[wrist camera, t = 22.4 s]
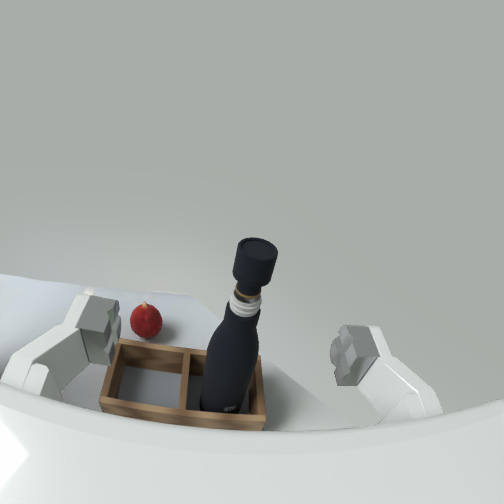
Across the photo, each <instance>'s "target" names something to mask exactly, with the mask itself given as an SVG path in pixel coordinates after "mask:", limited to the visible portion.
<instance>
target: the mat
mask: <svg viewBox="0 0 504 504" xmlns="http://www.w3.org/2000/svg"><path fill="white" fill-rule="evenodd" d="M181 376H182V374H177V373H170V372H163V371H156V370H149V369H143V368H137V367H131V366H125V367H124V371H123V375H122V380H121V384H120V388H119V393H118V397H117V399H120V400H125V401H130V402H136V403H142V404H148V405H154V406H161V407H168V408H176V409H178V405H179V395H180V385H181ZM202 381H203V376H194V375H189V377H188V389H187V401H186V410H193V411H201V410H200V405H199V402H200V395H201V388H202ZM102 412H103V411H102ZM238 414H245V415H250V414H249V395H248V389H247V392H246V394H245V397H244V400H243V403H242V406H241V408H240V411H239V413H238ZM261 431H263V428H262V430H261Z"/></svg>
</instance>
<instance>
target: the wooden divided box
mask: <svg viewBox="0 0 504 504" xmlns="http://www.w3.org/2000/svg"><path fill="white" fill-rule="evenodd" d="M114 347H115V355H114V358H113V362H112V365H111V366H108V369H107V372H106V376H105V380H104V383H103V387H102V391H101V395H100V398H99V403H100V406H101V409H102V411H103V413H108V414H113V415H118V416H123V417H128V418H134V419H139V420H145V421H152V422H158V423H165V424H173V425H181V426H190V427H200V428H211V429H225V430H244V431H261V430H262V428H263V426H264V425H265V423H266V413H265V401H264V390H263V379H262V368H261V356H260V355H258V359H257V363H256V366H255V369H254V372H253V375H252V378H251V380H250V383H249V386H248V395H249V414H250V415H245V414H228V413H214V412H203V411H193V410H186V401H187V389H188V377H189V375H194V376H203V374H204V367H205V360H206V353H207V351H206V350H197V349H189V348H181V347H173V346H166V345H159V344H152V343H146V342H140V341H133V340H127V339H122V338H119V341H118V343H117V344H115V345H114ZM125 366H131V367H137V368H143V369H149V370H156V371H163V372H170V373H177V374H182V376H181V385H180V395H179V405H178V409H176V408H168V407H161V406H154V405H148V404H142V403H136V402H130V401H125V400H120V399H117V397H118V393H119V388H120V384H121V380H122V375H123V371H124V367H125Z"/></svg>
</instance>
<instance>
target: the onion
mask: <svg viewBox="0 0 504 504" xmlns="http://www.w3.org/2000/svg"><path fill="white" fill-rule="evenodd" d="M130 324H131V328H132V330H133V331H134V332H135V333H136V334H137V335H138V336H140V337H143V338H151V337H153V336H156V335H157V334H158V332H159V331H160V330H161V327H162V317H161V315H160V313H159V311H158V310H157V309H156V308H155V307H154V306H152V305H149V304H147V303H146V302H143V304H142V305H140V306H138V307H136V308H135V309H134V310H133V312H132V314H131V317H130Z"/></svg>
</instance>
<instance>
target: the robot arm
mask: <svg viewBox="0 0 504 504" xmlns="http://www.w3.org/2000/svg"><path fill="white" fill-rule="evenodd" d="M119 309H120V308H119V302H118V301H117V300H112V299H107V298H102V297H97V296H91V295H86V294H81V293H79V294H78V295H77V296H76V298H75V300H74V301H73V303H72V305H71V307H70V310H69V312H68V314H67V316H66V318H65V320H64V322H63V324H62V325H61V324H58V325H56V326H55V327H53V328H52V329H50V330H49V331H47V332H46V333H44V334H42V335H41V336H39V337H38V338H36V339H35V340H33V341H32V342H30V343H29V344H27V345H26V346H24V347H23V348H21V349H20V350H18V351H17V352H15V353H14V354H12V356H11V358H10V360H9V362H8V364H7V366H6V368H5V371H4V373H3V375H2V377H1V379H0V504H504V400H502V399H498V400H494V401H491V402H487V403H484V404H481V405H477V406H473V407H469V408H466V409H462V410H457V411H454V412H449V413H445V414H444V413H443V410H442V408H441V405H440V403H439V401H438V398H437V396H436V393H435V391H434V390H433V389H432V388H431V387H430V386H429V385H427V384H426V383H425V382H424V381H423V380H422V379H421V378H419V377H418V376H417V375H416V374H415V373H413V372H412V371H411V370H410V369H409V368H408V367H406V366H405V365H404V364H403V363H402V362H401V361H399V360H398V359H397V358H396V357H392V355H391V353H390V351H389V348H388V346H387V344H386V341H385V339H384V337H383V334H382V332H381V330H380V328H379V327H378V326H359V325H343V326H341V327H340V329H339V331H338V333H339V337H337V338H336V339H334V340H333V342H332V345H331V349H330V359H331V362H332V364H333V365H334V366H335V367H336V369H335V371H334V374H335V378H336V382H337V385H338V386H357V388H358V389H359V390H360V391H361V392H362V394H363V395H364V396H365V397H366V398H367V399H368V401H369V402H370V403H371V404H372V405H373V406H374V408H375V409H376V410H377V411H378V412H379V414H380V415H381V416H382V417H383V419H382V420H381V421H380V422H379V423H378V424H377V425H374V426H365V427H356V428H344V429H331V430H313V431H244V430H225V429H211V428H200V427H190V426H181V425H173V424H165V423H158V422H152V421H145V420H139V419H134V418H128V417H123V416H118V415H113V414H108V413H103V412H99V411H95V410H90V409H86V408H82V407H78V406H74V405H71V404H67V403H65V401H64V400H63V398H62V396H61V394H60V391H61V390H62V389H63V388H64V387H65V386H66V385H67V384H68V383H69V382H70V381H71V380H72V379H74V378H75V377H76V376H77V375H78V374H79V373H80V372H81V371H82V370H83V369H84V368H85V367H86V366H87V365H89V362H90V363H95V364H101V365H106V366H111V365H112V362H113V358H114V355H115V347H114V345H115V344H117V343H118V341H119V338H120V333H121V317H120V316H119V315H118V312H119Z"/></svg>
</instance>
